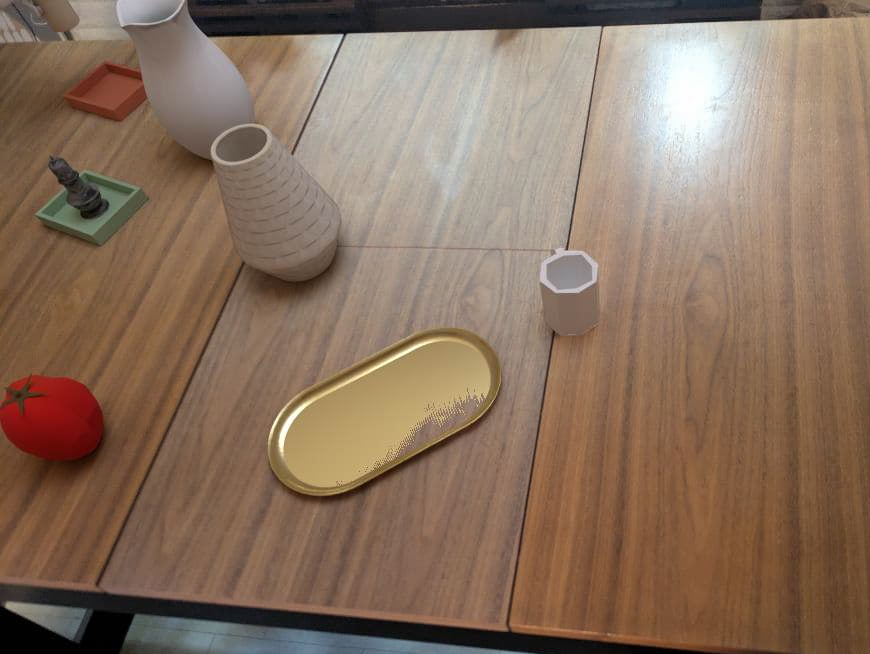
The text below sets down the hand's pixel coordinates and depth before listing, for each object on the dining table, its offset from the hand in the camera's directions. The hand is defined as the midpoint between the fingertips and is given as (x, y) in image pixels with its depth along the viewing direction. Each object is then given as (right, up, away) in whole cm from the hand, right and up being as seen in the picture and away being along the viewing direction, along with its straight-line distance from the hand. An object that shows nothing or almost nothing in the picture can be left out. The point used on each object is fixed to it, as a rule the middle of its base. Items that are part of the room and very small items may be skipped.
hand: (53, 5), depth 133 cm
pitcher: (+29, -22, +6) cm, 37 cm away
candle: (0, -2, +3) cm, 4 cm away
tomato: (+25, -80, -29) cm, 89 cm away
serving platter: (+70, -76, -32) cm, 108 cm away
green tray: (+10, -40, -3) cm, 41 cm away
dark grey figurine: (+10, -39, -4) cm, 41 cm away
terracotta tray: (+3, -10, +15) cm, 19 cm away
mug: (+96, -60, -25) cm, 116 cm away
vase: (+52, -51, -14) cm, 74 cm away
